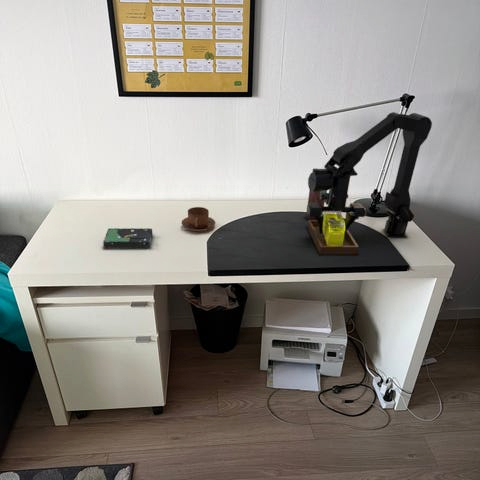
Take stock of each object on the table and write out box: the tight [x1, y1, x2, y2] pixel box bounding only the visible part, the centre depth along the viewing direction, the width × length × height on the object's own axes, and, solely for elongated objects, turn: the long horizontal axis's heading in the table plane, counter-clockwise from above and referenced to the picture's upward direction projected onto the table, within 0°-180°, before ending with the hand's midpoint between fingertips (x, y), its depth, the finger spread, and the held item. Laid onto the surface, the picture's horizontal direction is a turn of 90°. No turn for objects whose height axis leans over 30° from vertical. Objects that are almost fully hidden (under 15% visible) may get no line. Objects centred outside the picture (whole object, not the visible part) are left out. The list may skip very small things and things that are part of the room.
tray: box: [306, 220, 360, 256], centre depth 152 cm, size 13×22×3 cm, turn 4°
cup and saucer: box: [181, 206, 216, 232], centre depth 156 cm, size 12×12×6 cm
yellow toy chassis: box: [323, 212, 345, 246], centre depth 150 cm, size 16×6×8 cm, turn 178°
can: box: [305, 189, 325, 221], centre depth 163 cm, size 6×6×14 cm
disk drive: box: [103, 227, 154, 249], centre depth 145 cm, size 10×3×15 cm
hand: (331, 233), depth 151 cm, fingers open, 8 cm apart
